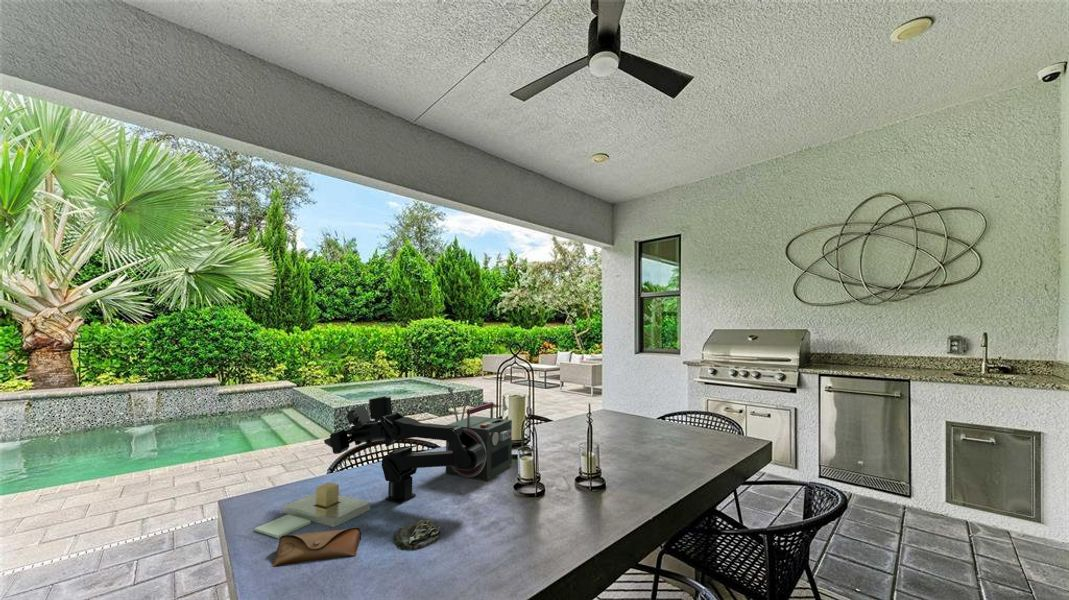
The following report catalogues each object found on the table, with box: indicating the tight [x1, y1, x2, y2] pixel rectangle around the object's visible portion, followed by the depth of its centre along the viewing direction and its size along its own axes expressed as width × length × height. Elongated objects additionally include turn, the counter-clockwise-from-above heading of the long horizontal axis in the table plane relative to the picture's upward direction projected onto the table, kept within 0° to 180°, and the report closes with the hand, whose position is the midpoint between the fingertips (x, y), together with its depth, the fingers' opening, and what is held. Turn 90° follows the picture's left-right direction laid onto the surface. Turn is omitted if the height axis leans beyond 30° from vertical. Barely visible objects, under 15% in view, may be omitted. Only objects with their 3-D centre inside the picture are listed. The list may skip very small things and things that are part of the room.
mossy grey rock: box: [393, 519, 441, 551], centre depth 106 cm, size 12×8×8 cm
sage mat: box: [254, 514, 312, 539], centre depth 112 cm, size 9×9×1 cm
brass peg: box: [315, 482, 340, 509], centre depth 122 cm, size 4×4×7 cm
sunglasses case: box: [270, 527, 362, 568], centre depth 100 cm, size 18×7×7 cm
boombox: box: [445, 386, 513, 482], centre depth 157 cm, size 18×21×30 cm
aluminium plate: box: [283, 492, 371, 528], centre depth 122 cm, size 20×12×2 cm, turn 64°
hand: (335, 436), depth 140 cm, fingers open, 9 cm apart
